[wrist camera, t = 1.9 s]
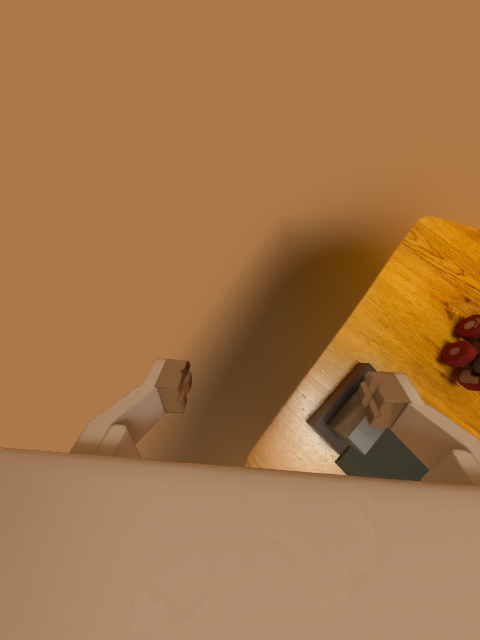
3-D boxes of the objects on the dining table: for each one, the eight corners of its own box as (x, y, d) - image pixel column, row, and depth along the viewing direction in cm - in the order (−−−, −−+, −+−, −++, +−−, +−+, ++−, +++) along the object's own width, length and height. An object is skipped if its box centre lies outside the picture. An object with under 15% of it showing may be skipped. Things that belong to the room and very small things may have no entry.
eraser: (331, 448, 33) (364, 474, 25) (306, 421, 34) (331, 439, 26) (383, 387, 35) (428, 393, 28) (359, 362, 36) (396, 362, 28)
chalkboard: (492, 628, 30) (497, 632, 30) (335, 462, 33) (336, 463, 32) (546, 537, 33) (550, 540, 32) (395, 389, 35) (397, 390, 35)
